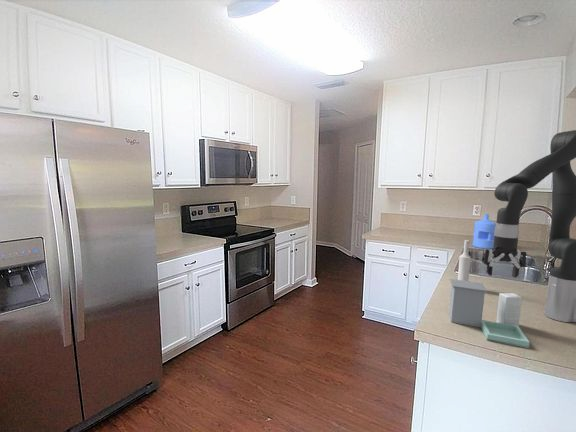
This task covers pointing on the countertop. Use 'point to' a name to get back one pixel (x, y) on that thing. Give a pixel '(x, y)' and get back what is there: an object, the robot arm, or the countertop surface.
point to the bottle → (464, 263)
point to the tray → (504, 333)
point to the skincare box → (509, 309)
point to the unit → (466, 302)
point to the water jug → (484, 233)
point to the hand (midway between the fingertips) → (501, 275)
